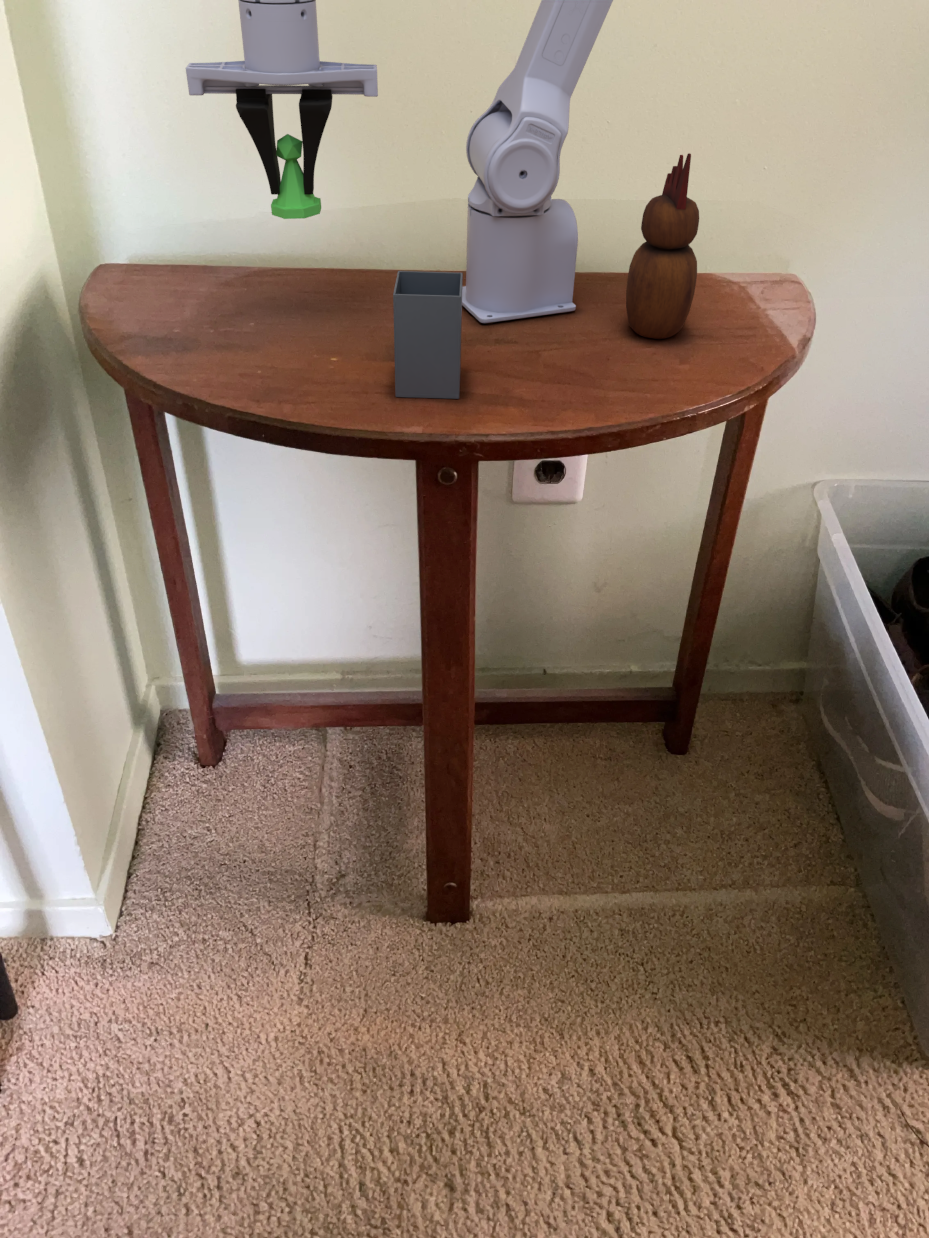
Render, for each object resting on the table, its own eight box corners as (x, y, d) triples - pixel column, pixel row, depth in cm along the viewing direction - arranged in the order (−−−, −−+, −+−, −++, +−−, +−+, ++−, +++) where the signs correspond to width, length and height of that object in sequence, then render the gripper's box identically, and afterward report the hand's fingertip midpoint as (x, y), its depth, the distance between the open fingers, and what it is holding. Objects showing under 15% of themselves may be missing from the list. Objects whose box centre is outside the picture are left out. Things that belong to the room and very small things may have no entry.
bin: (460, 371, 80) (462, 272, 75) (459, 399, 76) (461, 296, 71) (399, 370, 80) (397, 270, 75) (395, 397, 76) (393, 294, 71)
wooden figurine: (686, 350, 84) (718, 161, 75) (618, 342, 85) (642, 155, 76) (688, 320, 89) (718, 140, 80) (624, 313, 90) (647, 135, 81)
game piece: (307, 221, 81) (299, 142, 77) (261, 216, 82) (251, 138, 78) (331, 206, 84) (324, 129, 80) (286, 201, 85) (277, 126, 82)
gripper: (374, -7, 77) (379, 177, 86) (185, -10, 76) (209, 177, 85) (375, 6, 72) (381, 201, 80) (171, 3, 71) (199, 202, 79)
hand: (293, 191), depth 82 cm, fingers closed on game piece, 2 cm apart
